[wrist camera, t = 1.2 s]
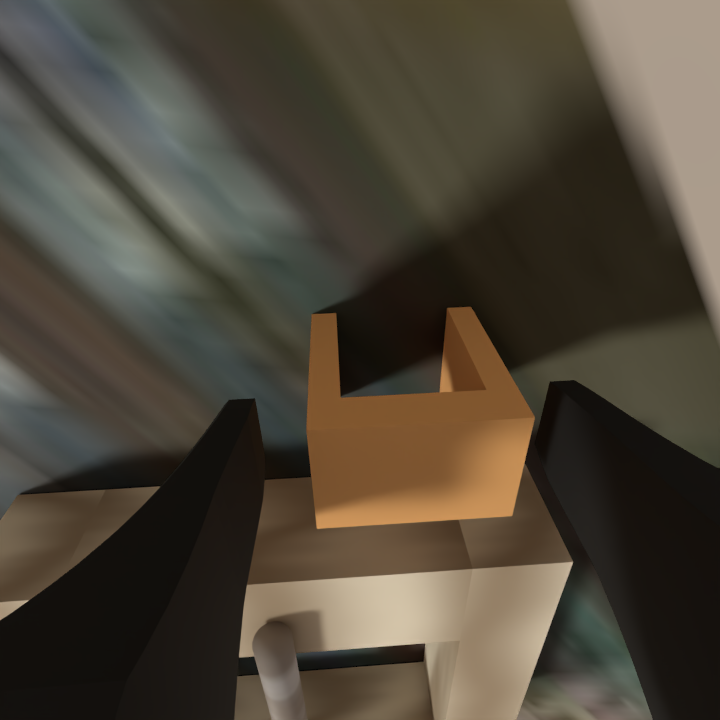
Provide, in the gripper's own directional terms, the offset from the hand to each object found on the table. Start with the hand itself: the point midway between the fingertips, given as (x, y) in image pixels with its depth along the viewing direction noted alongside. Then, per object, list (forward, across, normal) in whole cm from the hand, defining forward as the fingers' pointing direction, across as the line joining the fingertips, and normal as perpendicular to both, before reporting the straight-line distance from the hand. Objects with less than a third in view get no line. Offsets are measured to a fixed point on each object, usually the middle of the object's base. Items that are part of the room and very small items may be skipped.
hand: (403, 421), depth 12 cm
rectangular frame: (+3, +4, +14) cm, 15 cm away
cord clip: (+3, 0, 0) cm, 3 cm away
